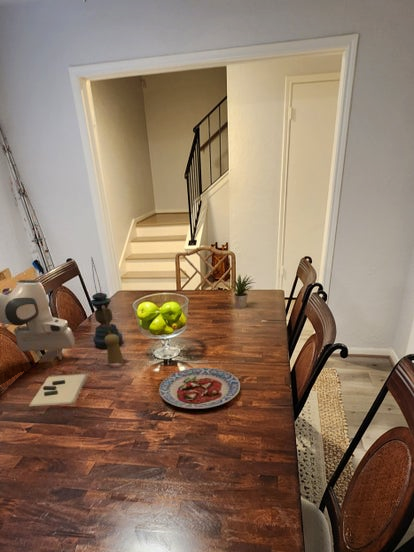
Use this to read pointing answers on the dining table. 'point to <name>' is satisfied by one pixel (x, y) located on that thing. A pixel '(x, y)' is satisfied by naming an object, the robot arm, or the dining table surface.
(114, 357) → the cork
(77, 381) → the board
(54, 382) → the mark
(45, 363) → the eraser
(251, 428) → the dining table surface
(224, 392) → the ceramic plate
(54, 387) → the mark
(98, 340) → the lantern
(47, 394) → the mark
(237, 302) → the house plant
